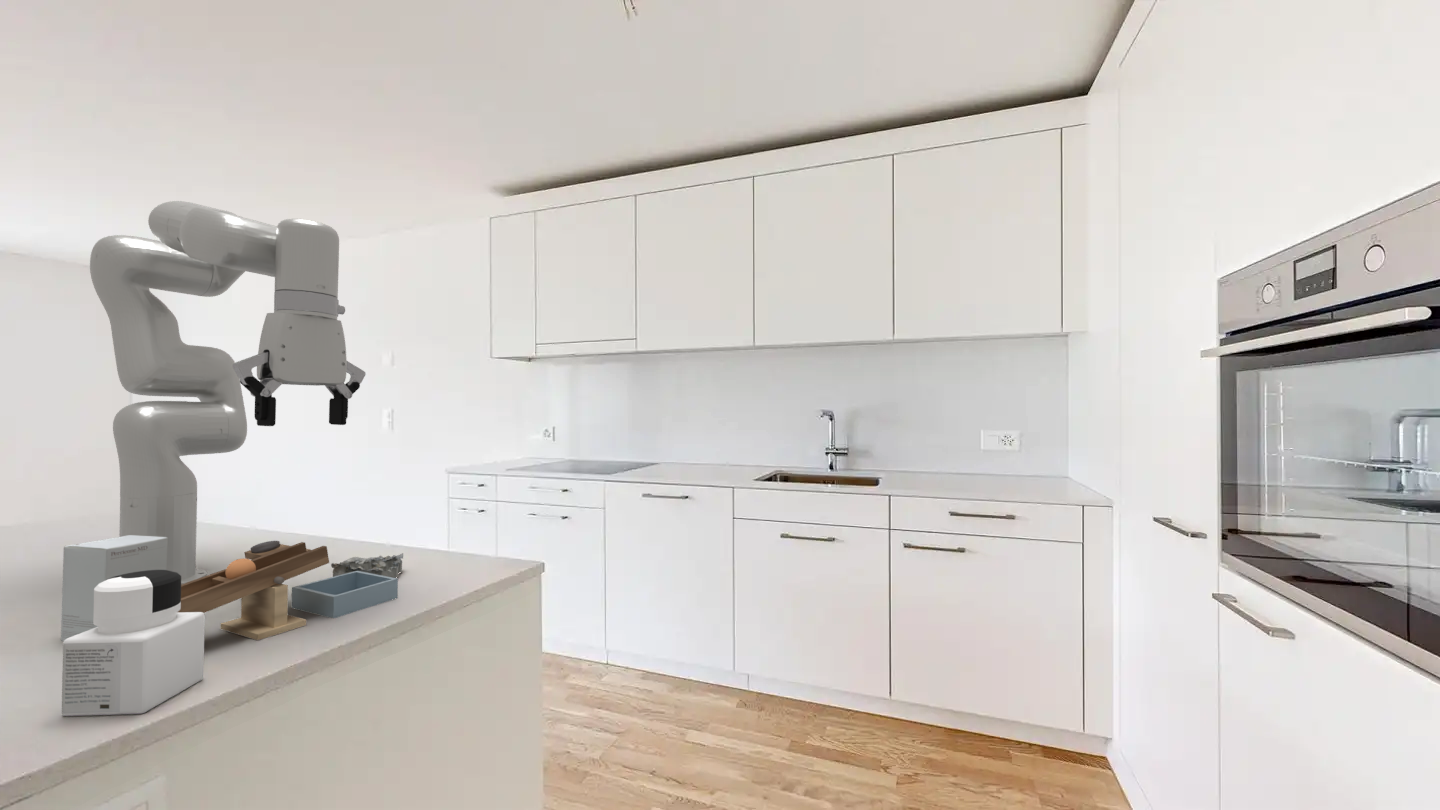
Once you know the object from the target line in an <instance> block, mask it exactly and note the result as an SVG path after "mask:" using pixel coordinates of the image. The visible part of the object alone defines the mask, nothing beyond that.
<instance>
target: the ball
mask: <svg viewBox="0 0 1440 810" xmlns="http://www.w3.org/2000/svg"><path fill="white" fill-rule="evenodd" d="M225 569H226V572H225V574H226V577H227V578H229V579H235V578H237V577H240V576H243V575H245V574H248V573H251V572H253V571H256V566H255V564H254V562H253V561H251V559H246V558H238V559H236V560H233V561H231V562H230V563H229V564H228V565H227V567H226V568H225Z"/></svg>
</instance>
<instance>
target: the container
mask: <svg viewBox="0 0 1440 810" xmlns="http://www.w3.org/2000/svg"><path fill="white" fill-rule="evenodd" d="M180 609H181V575H179V574H178V573H177V572H173V571H168V570H147V571H139V572H132V573H127V574H122V575H118V576H115V577H112V578H109V579H107V580H105V581H103V582H101V583H99V584H98V585H97V586H96V587H95V588H94V616H93V624H94V625H95V626H98V627H96V628H93V629H90V630H88V631H85V632H83V633H80V634H77V635H75V636H72V637H69V638H67V639H65V640H64V641H62V671H61V672H62V675H61V676H62V677H61V678H62V681H61V683H62V684H61V715H62V716H64V717H74V716H75V717H77V716H78V717H79V716H109V715H110V716H111V715H141V714H145V713H146V712H149V711H150V710H152V709H154V708H155V707H157V706H159V705H160V704H162V703H164V702H165V701H167V700H169V699H171V698H172V697H174V696H176V695H178V694H180V693H181V692H183V691H185V690H187V689H188V688H190V687H191V686H193V685H195V684H197V683H199V682H200V681H202V680H203V678H204V665H205V664H204V663H205V659H204V658H205V613H203V612H178V611H179V610H180Z"/></svg>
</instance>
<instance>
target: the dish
mask: <svg viewBox="0 0 1440 810" xmlns="http://www.w3.org/2000/svg"><path fill="white" fill-rule="evenodd" d="M398 587H399V578H392V577H387V576H382V575H377V574H372V573H366V572H361V571H354V572H350V573H346V574H342V575H338V576H334V577H333V576H330V577H326V578H323V579H319V580H316V581H312V582H311V581H310V582H306V583H303V584H300V585H296V586H292V587H291V609H294V608H295V609H294V610H299V611H302V612H306V613H310V614H314V615H318V616H322V617H327V618H330V619H336V618H339V617H343V616H345V615H348V614H353V613H356V612H358V611H361V610H365V609H367V608H371V607H374V606H377V605H380V604H384V603H386V602H391V601H393V600H396V599H398V598H399V595H398V594H399V593H398V591H399V588H398ZM395 598H396V599H395ZM392 599H393V600H392Z"/></svg>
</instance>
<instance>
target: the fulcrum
mask: <svg viewBox="0 0 1440 810" xmlns="http://www.w3.org/2000/svg"><path fill="white" fill-rule="evenodd" d="M288 591H289V585H287V584H284V583H282V584H275V585H273V586H270V587H268V588H265V589H263V590H260V591H258V592H255V593H253V594H250V595H248V596H245V597H243V598H240V599H241V600H240V605H241V606H240V607H241V609H240V611H241V612H240V617H237V618H235V619H231V620H228V621H224V622H221V623H220V627H219V628H220V630H222V631H226V632H230V633H232V634H236V635H239V636H242V637H245V638H248V639H251V640H255V641H261V640H264V639H266V638H271V637H273V636H277V635H280V634H282V633H286V632H289V631H292V630H295V629H298V628H302V627H305V626H307V619H305V618H302V617H297V616H295V615H290V614H288V607H289V606H288V605H289V604H288V600H289V599H288V595H289V593H288Z"/></svg>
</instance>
